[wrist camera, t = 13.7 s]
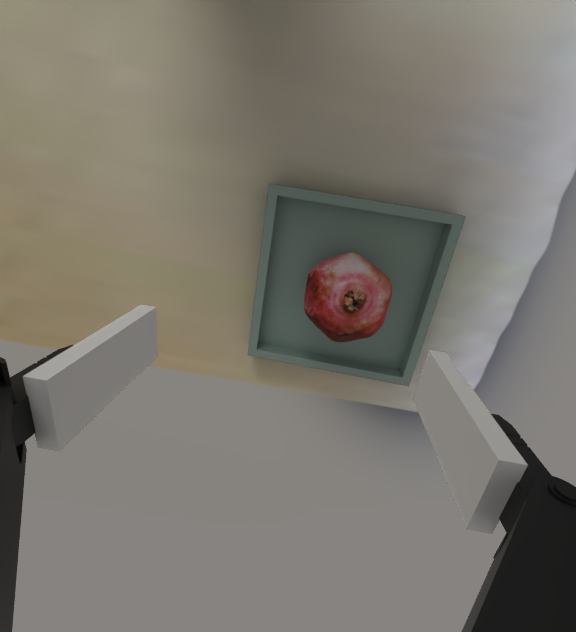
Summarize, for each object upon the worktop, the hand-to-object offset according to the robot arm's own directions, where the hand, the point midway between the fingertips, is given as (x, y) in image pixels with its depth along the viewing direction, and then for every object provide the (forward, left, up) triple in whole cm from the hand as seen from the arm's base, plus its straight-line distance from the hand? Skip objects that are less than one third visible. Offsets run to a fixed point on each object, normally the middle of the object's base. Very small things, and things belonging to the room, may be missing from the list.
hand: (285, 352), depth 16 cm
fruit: (+2, +5, -24) cm, 24 cm away
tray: (+2, +4, -24) cm, 24 cm away
